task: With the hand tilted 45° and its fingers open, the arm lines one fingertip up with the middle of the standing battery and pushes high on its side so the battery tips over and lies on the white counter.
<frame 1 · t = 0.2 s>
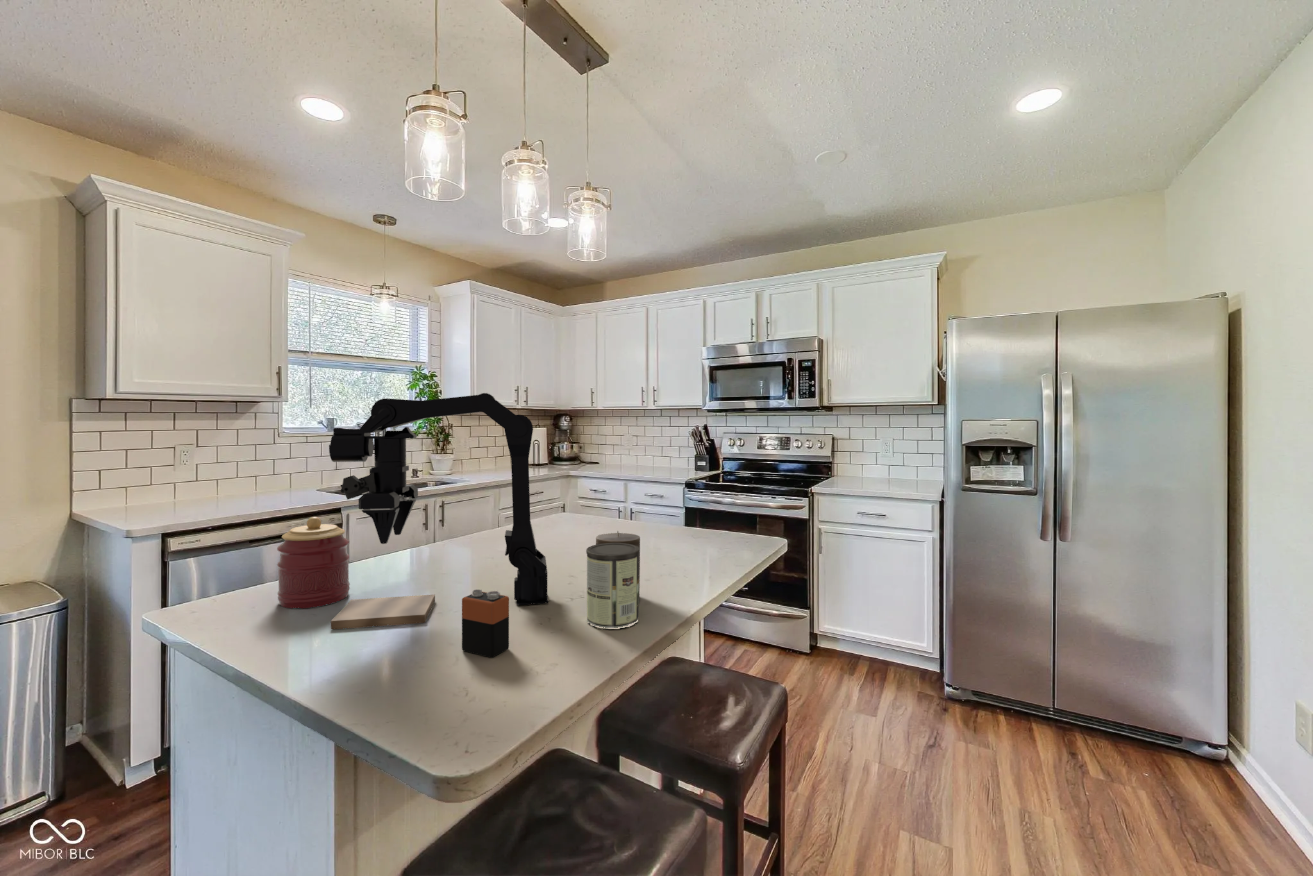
hand: (391, 539, 109), 14 cm above the countertop, tool pointing down, fingers open, 9 cm apart
pillar candle: (617, 600, 118), on the countertop
battery: (485, 651, 91), on the countertop
coffee can: (612, 621, 105), on the countertop
canister: (314, 600, 115), on the countertop
walnut cutting board: (386, 614, 107), on the countertop
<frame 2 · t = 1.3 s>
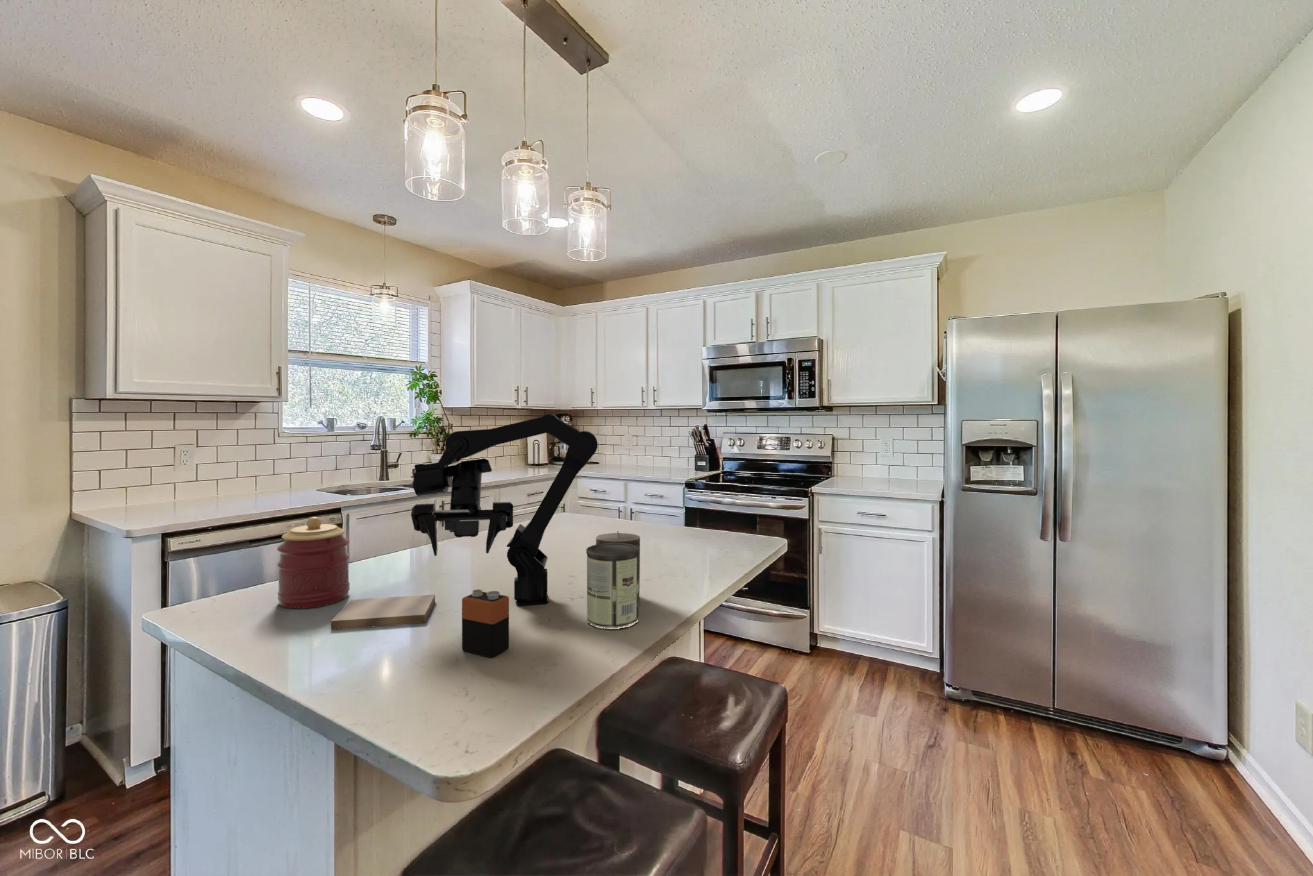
hand: (461, 553, 102), 13 cm above the countertop, tool tilted 45°, fingers open, 9 cm apart
nothing on the countertop moved.
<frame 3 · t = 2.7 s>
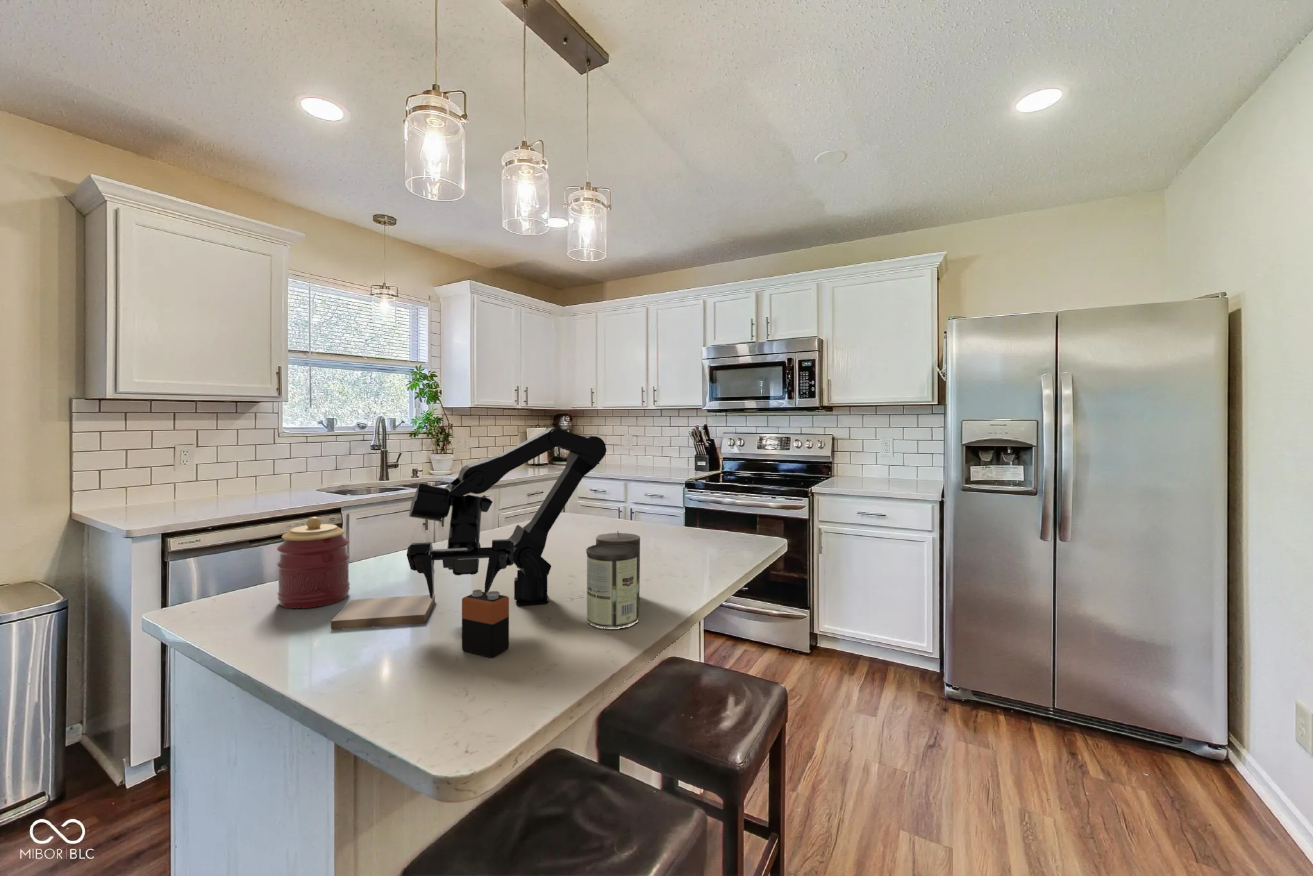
hand: (458, 595, 97), 7 cm above the countertop, tool tilted 45°, fingers open, 9 cm apart
nothing on the countertop moved.
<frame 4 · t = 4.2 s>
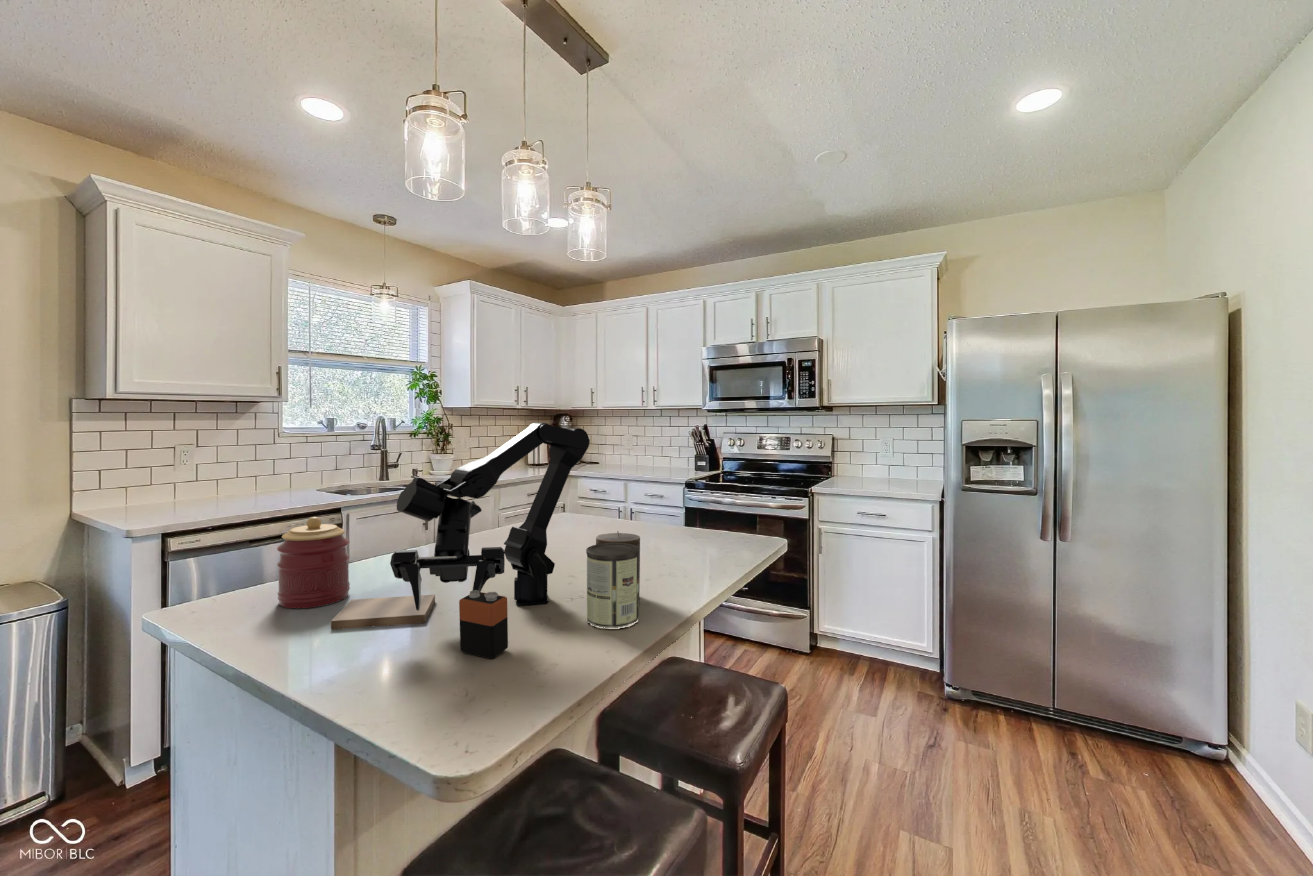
hand: (445, 608, 92), 7 cm above the countertop, tool tilted 45°, fingers open, 8 cm apart
battery: (484, 651, 91), on the countertop, touching gripper
everything else where it was.
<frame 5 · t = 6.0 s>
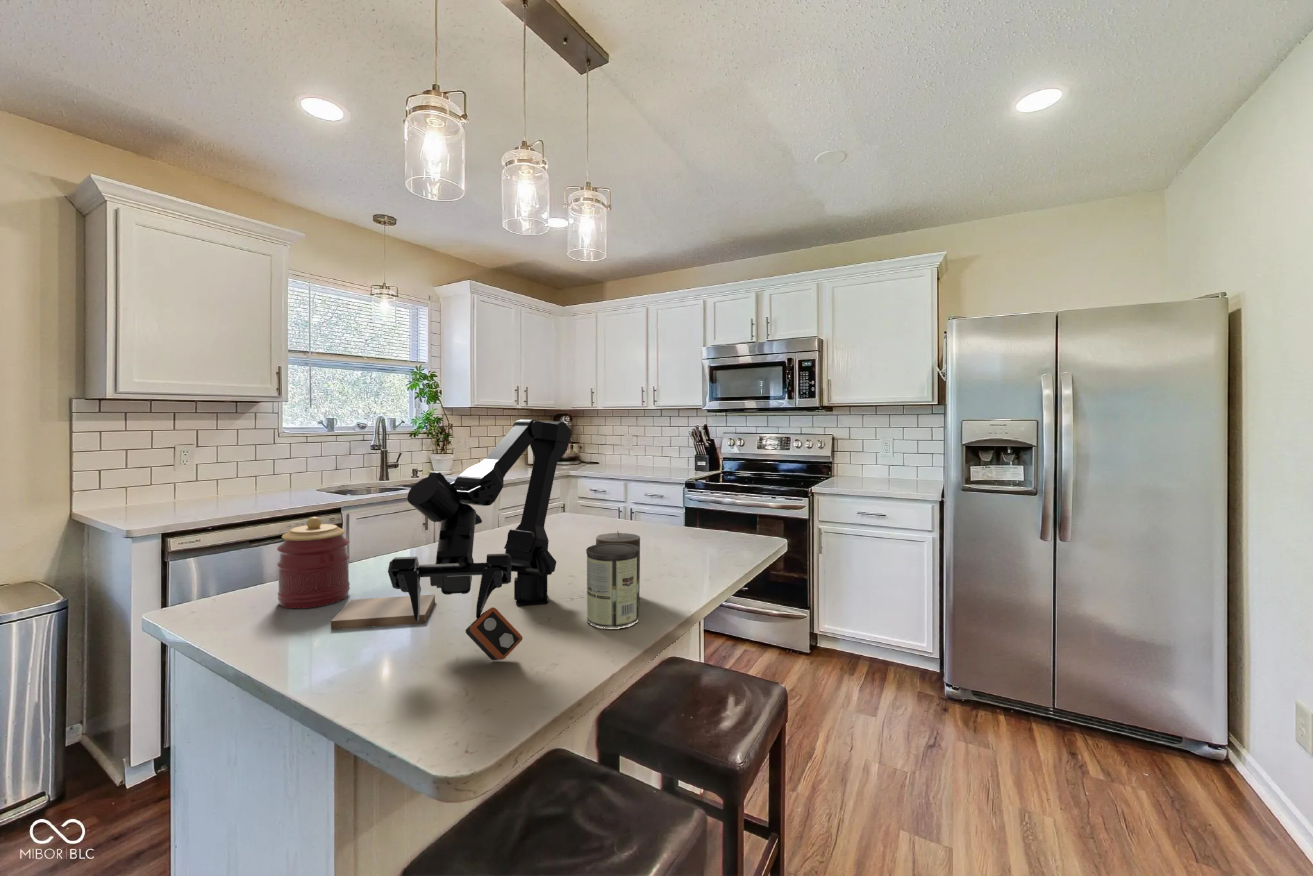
hand: (447, 619, 84), 8 cm above the countertop, tool tilted 45°, fingers open, 9 cm apart
battery: (488, 636, 89), point 3 cm above the countertop, touching gripper
everything else where it was.
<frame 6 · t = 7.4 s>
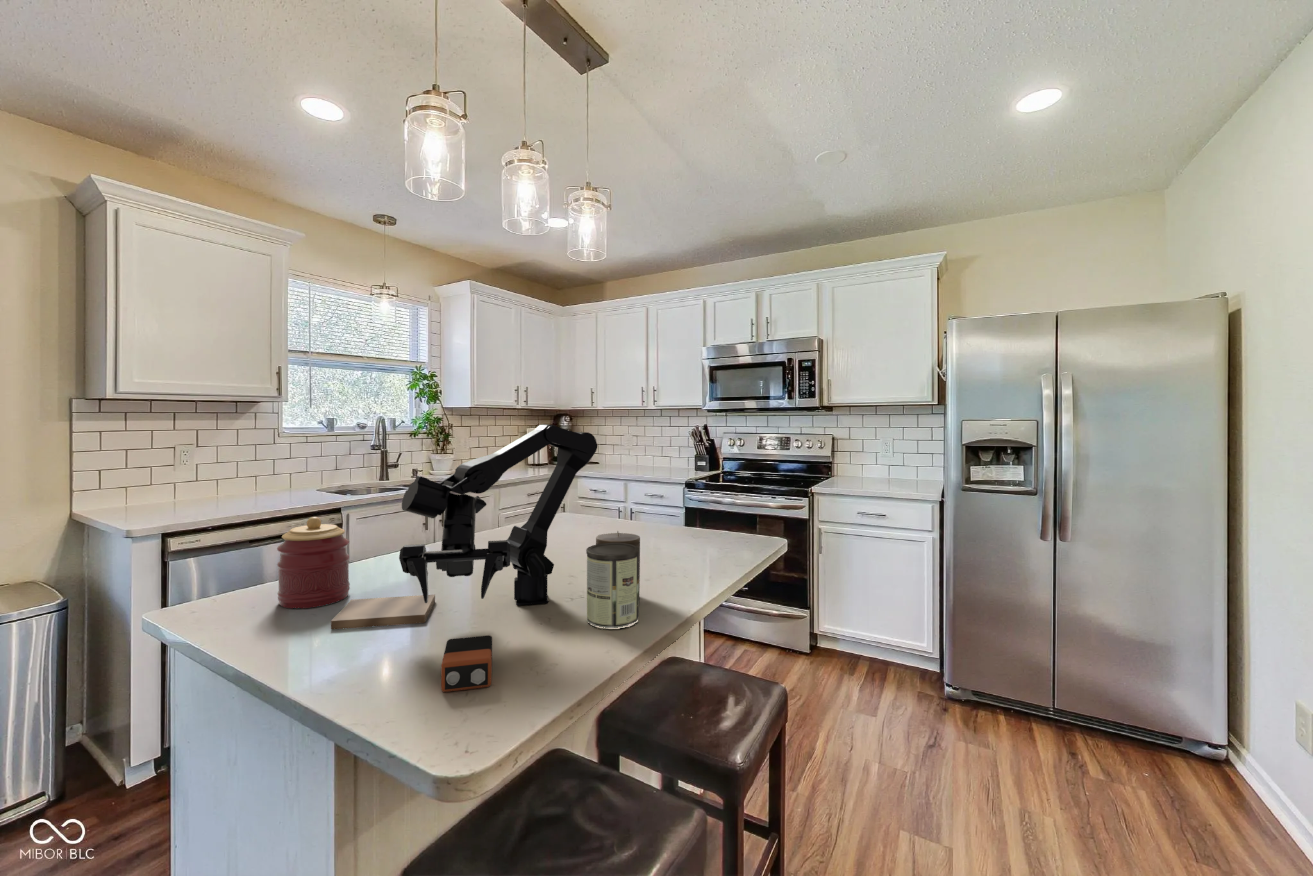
hand: (454, 600, 94), 7 cm above the countertop, tool tilted 45°, fingers open, 9 cm apart
battery: (469, 649, 86), point 2 cm above the countertop
everything else where it was.
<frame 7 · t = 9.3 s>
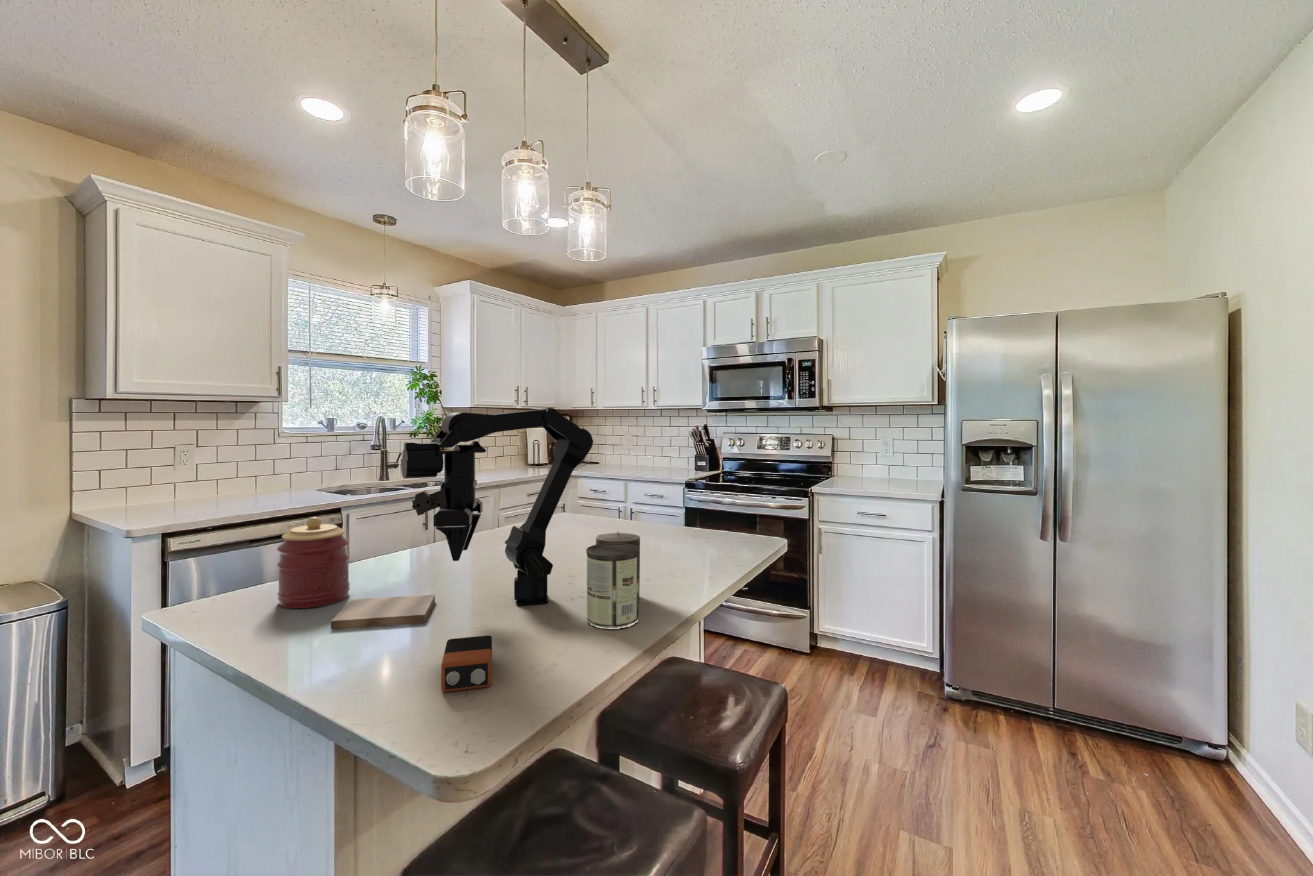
hand: (460, 555, 107), 12 cm above the countertop, tool pointing down, fingers open, 9 cm apart
nothing on the countertop moved.
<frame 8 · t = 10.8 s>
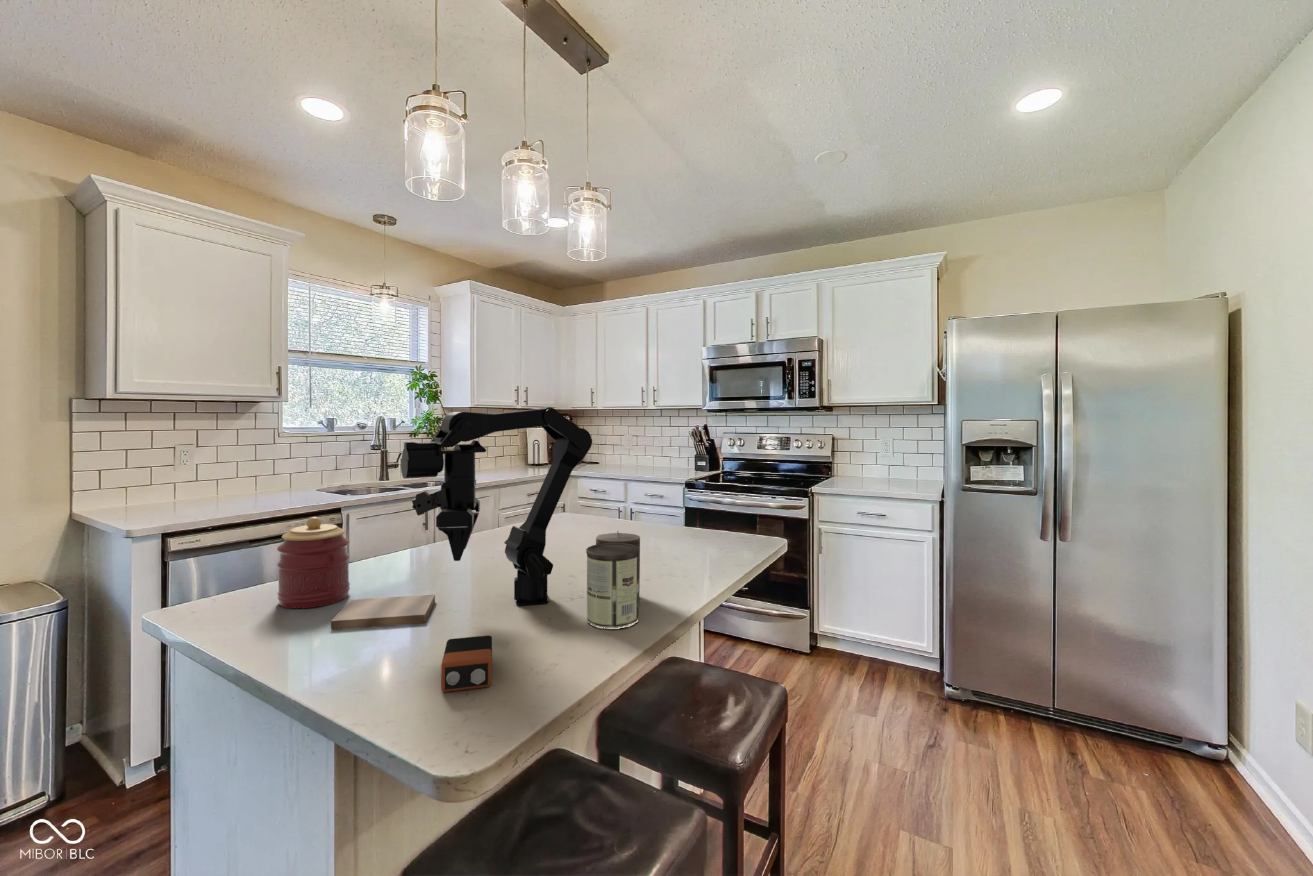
hand: (459, 554, 107), 12 cm above the countertop, tool pointing down, fingers open, 9 cm apart
nothing on the countertop moved.
at the end: battery tilted 90°; battery inside the target area (2.9 cm from its centre), point 2.2 cm above the countertop; the gripper is holding nothing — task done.
